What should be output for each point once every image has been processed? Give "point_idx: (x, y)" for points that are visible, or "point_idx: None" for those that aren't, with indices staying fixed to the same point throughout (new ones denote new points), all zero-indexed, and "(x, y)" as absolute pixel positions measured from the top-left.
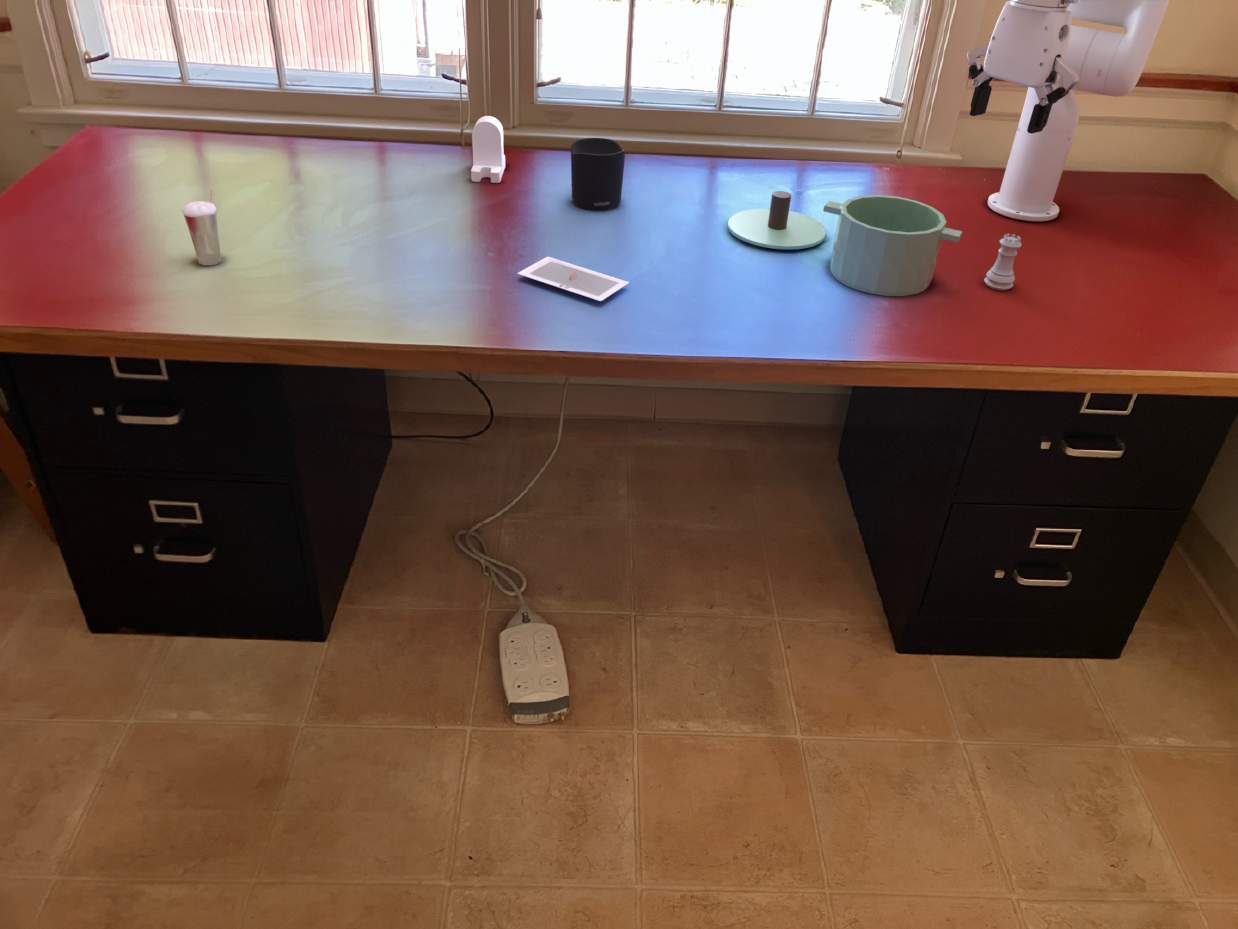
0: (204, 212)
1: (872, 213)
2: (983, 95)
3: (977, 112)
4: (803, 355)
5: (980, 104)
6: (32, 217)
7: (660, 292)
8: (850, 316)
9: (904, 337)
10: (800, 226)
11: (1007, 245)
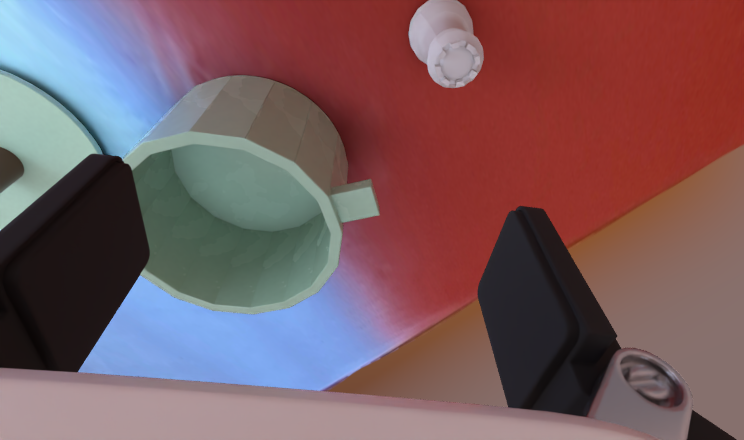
0: None
1: (141, 163)
2: (79, 306)
3: (140, 245)
4: (348, 368)
5: (115, 269)
6: None
7: (155, 370)
8: (325, 291)
9: (404, 289)
10: (16, 128)
11: (455, 87)
